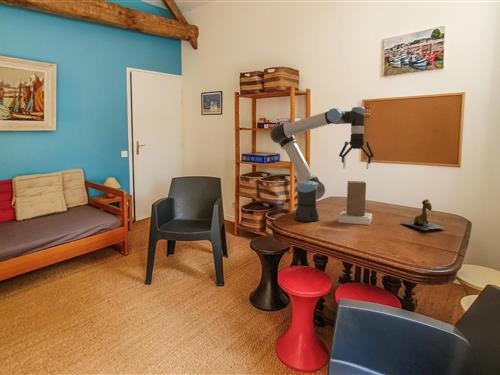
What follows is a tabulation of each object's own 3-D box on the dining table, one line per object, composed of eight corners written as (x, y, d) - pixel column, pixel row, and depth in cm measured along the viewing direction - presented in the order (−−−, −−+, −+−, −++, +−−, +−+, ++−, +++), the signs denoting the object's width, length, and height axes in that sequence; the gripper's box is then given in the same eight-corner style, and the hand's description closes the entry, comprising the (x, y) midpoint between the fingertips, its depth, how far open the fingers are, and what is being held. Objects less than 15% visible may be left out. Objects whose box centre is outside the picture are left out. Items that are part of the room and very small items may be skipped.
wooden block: (347, 215, 204) (348, 182, 202) (346, 212, 214) (347, 180, 212) (364, 216, 202) (366, 182, 200) (363, 213, 211) (364, 181, 209)
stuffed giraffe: (423, 230, 184) (425, 201, 183) (399, 223, 201) (400, 197, 200) (445, 228, 189) (447, 200, 188) (420, 222, 206) (421, 196, 205)
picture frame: (337, 222, 203) (338, 215, 203) (342, 217, 220) (342, 210, 219) (369, 224, 196) (369, 218, 196) (372, 219, 212) (372, 213, 212)
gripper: (335, 133, 206) (333, 168, 208) (378, 132, 195) (376, 169, 197) (337, 133, 213) (336, 167, 215) (379, 133, 202) (377, 169, 204)
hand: (355, 168), depth 206 cm, fingers open, 13 cm apart
